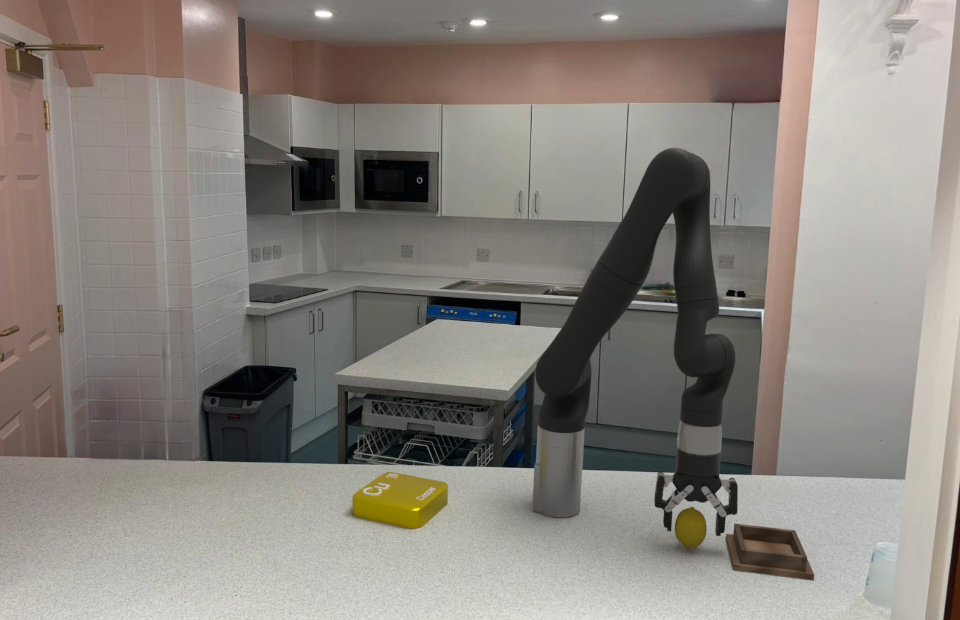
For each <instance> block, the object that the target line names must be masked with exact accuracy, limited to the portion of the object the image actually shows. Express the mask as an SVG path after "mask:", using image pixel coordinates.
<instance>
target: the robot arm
mask: <svg viewBox="0 0 960 620" xmlns="http://www.w3.org/2000/svg"><path fill="white" fill-rule="evenodd" d="M710 207H711V171H710V168H709V166H708V163H706V161H705V160H704V159H703V158H702V157H701V156H699V155H697V154H695V153H693V152H690V151H687V150H685V149H683V148H679V147H670V148H666V149H664V150H662V151H659V152H658V153H657V154H656V155H655V156H654V157H653V158H652V160H651V161H650V162H649V164H648V165H647V168H646V169H645V171H644V173H643V176H642V178H641V180H640V183H639V185H638V187H637V189H636V191H635V193H634V196H633V198H632V200H631V203H630V205H629V207H628V209H627V211H626V212H625V214H624V217H622V220H621V221H620V223H619V225H618V226H617V228H616V230H615V232H614V233H613V235H612V236H611V238H610V240H609V241H608V243H607V244H606V247H605V249H604V251H603V252H602V253H601V255H600V256H599V257H598V260H597V261H596V263H595V265H594V267H593V268H592V270H591V272H590V273H589V276H588V277H587V280H586V281H585V283H584V285H583V287H582V289H581V290H580V293H579V294H578V297H577V299H576V300H575V303H574V305H573V307H572V309H571V310H570V313H569V315H568V317H567V319H566V321H565V322H564V324H563V325H562V327H561V328H560V329H559V331H558V333H557V334H556V336H555V337H554V339H553V340H552V341H551V343H550V344H549V345H548V346H547V348H546V350H545V351H544V352H543V353H542V355H541V356H540V357H539V358H538V360H537V362H536V365H535V371H534V372H535V373H534V374H535V375H534V378H535V381H536V385H537V386H538V388H539V390H540V391H541V392H542V393H544V397H543V400H542V403H541V406H540V408H539V410H538V415H537V431H536V432H537V435H536V453H535V454H536V455H535V456H536V457H535V463H534V466H533V467H534V469H533V486H532V487H533V488H532V489H533V490H532V491H533V492H532V509H531V510H532V512H536V513H540V514H542V515H544V516H548V517H551V518H552V517H553V518H568V517H572V516H576V515H577V514H578V513H580V511H581V500H582V483H583V482H582V481H583V480H582V479H583V464H584V450H585V449H584V448H585V446H584V445H585V431H586V430H585V428H586V418H587V415H588V411H589V407H590V396H591V387H592V386H591V385H592V362H591V357H592V355H593V353H594V351H595V350H596V348H597V347H598V345H599V343H600V342H601V340H603V338H604V337H605V335H607V334H608V332H610V330H611V329H612V328H613V327H614V326H615V324H616V323H617V322H618V321H619V319H621V317H622V316H623V314H624V313H626V311H627V309H628V308H629V306H631V304H632V303H633V301H634V300H635V298H636V296H637V295H638V293H639V291H640V289H641V288H642V286H643V284H644V283H645V282H646V279H647V278H648V275H649V274H650V273H649V272H650V269H651V267H652V263H653V259H654V255H655V252H656V251H655V250H656V247H657V243H658V239H659V238H660V234H661V232H662V230H663V228H664V227H665V224H666V223H667V221H668V220H669V219H670V217H671V216H673V220H674V226H675V249H674V260H673V267H672V268H673V269H672V270H673V272H672V274H673V275H672V277H673V287H674V295H675V302H676V308H677V319H676V324H675V332H674V333H675V335H674V341H673V357H674V360H675V363H676V366H677V368H678V369H679V371H680V372H681V373H682V374H683V375H685V376H687V377H690V378H697V379H696V381H695V382H694V383H693V384H692V385H690V386H688V387H686V388H685V389H684V390H683V391H682V394H681V398H680V399H681V402H680V414H679V415H680V416H679V418H680V419H679V425H678V429H677V436H676V458H675V459H676V460H675V471H674V474H673V475H672V474H665V473H664V472H663V471H658V472H657V474H656V481H655V490H654V498H653V500H654V507H655V508H657V509H662V511H663V517H662V518H663V519H662V520H663V521H662V523H663V527H664V529H666V531H667V532H672V525H673V510H674V509H675V508H676V506H679V505H680V504H681V503H682V501H683V500H686V502H698V503H701V504H705V503H707V502H708V501H709V503H710V504H711V506H712V508H714V509H715V511H716V512H715V513H716V514H715V525H714V527H715V530H714V531H715V532H714V533H715V536H716V537H721V534H725V531H726V518H727V516H729V515H730V516H731V515H732V516H733V515H735V516H736V515H737V514H738V510H739V509H738V500H739V498H738V493H739V492H738V489H739V488H738V486H739V485H738V483H737V480H736V478H734V477H730V478H728V479H721V477H720V470H721V469H720V468H721V455H722V442H723V441H722V440H723V432H722V431H723V430H722V429H723V428H722V420H723V405H724V404H723V403H724V398H725V396H726V393H727V392H728V387H729V385H730V382H731V379H732V377H733V373H734V370H735V366H736V350H735V347H734V344H733V343H732V341H731V340H730V338H728V336H727V335H724V334H722V333H709V334H706V330H707V323H708V322H709V321H711V320H713V319H715V318H716V317H718V315H719V313H720V303H719V296H718V288H717V281H716V277H715V270H714V269H715V268H714V261H713V253H712V242H711V221H710V220H711V216H710V213H711V211H710V209H711V208H710ZM670 483H672V484H673V485H674V487H675V488H674V490H673V491H672V493H670V496H668V498H667V499H663V497H664V489H665V488H667V487H668V486H669V484H670ZM722 487H723V489H724V490H725V492H726V493H728V504H726V505H723V503H722V501H721V500H720V498H719V497H718V495H717V492H718V491H719V490H720V489H721V488H722Z"/></svg>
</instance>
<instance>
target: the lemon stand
mask: <svg viewBox="0 0 960 620" xmlns="http://www.w3.org/2000/svg"><path fill="white" fill-rule="evenodd" d="M725 542H726V546H727V550H728V554H729V559H730V563H731V566H732V567H731V568H732V571H736V572H737V571H738V572H746V573H747V572H748V573H755V574H762V575H769V576H771V575H772V576H779V577H787V578H795V579H802V580H811V581H814V579H815V573H814V571H813V569H812V567H811V564H810V562H809V560H808V556H807V554H806V552H805V550H804V547H803V545H802V543H801V540H800V538H799V535H798V534H797V530H795V529H789V528H776V527H769V526H760V525H751V524H743V523H735V522H734V523H733V534H731V533H725Z"/></svg>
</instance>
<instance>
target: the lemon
mask: <svg viewBox="0 0 960 620" xmlns="http://www.w3.org/2000/svg"><path fill="white" fill-rule="evenodd" d="M707 529H708V528H707V521H706V517H705V516H704V514H703V513H702V512H701V511H699V510H698V509H696V508H695V507H694V506H690V507H686V508H684V509H683V510H680V511H679V513H678V514H677V516H676V518H675V523H674V534H675V537H676V539H677V541H678V543H680V544H681V545H682V546H683V547H685V548H686V549H687V550H691V549H693V548H698V547H699V546H700V545H702V544H703V542H704V540H706V536H707Z"/></svg>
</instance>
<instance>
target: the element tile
mask: <svg viewBox="0 0 960 620" xmlns="http://www.w3.org/2000/svg"><path fill="white" fill-rule="evenodd" d="M448 494H449V485H448V483H447V482H445V481H440V480H435V479H430V478H425V477H418V476H414V475H408V474H404V473H398V472H393V471H386V472H384V473H381V474H380V475H379V476H377V477H376V478H374V479H373V480H372V481H371V482H369V483H367V484H366V485H365V486H364V487H362V488H360V489H358V490H357V491H356V492H354V493H353V495H352V497H351V498H352V499H351V500H352V501H351V502H352V507H351V509H352V510H351V511H352V516H353V517H355V518H358V519H362V520H366V521H372V522H376V523H381V524H385V525H388V526H389V525H390V526H394V527H399V528H403V529H408V530H416V529H417V530H418V529H420V528H423V527H424V526H425V525H427V523H428V522H430V520H432V519H433V518H434V517H435V516H436V515H437V514H438V513H439V512H441V511H442V509H444V508H445V507H446V506H447V505H448V499H449V497H448V496H449V495H448Z"/></svg>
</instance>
